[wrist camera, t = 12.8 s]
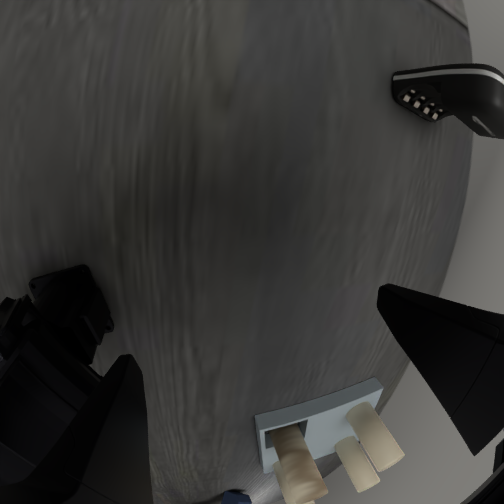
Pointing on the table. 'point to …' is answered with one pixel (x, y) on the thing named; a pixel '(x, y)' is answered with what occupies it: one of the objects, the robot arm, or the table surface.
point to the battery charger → (455, 95)
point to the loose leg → (297, 464)
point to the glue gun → (235, 498)
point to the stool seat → (335, 434)
